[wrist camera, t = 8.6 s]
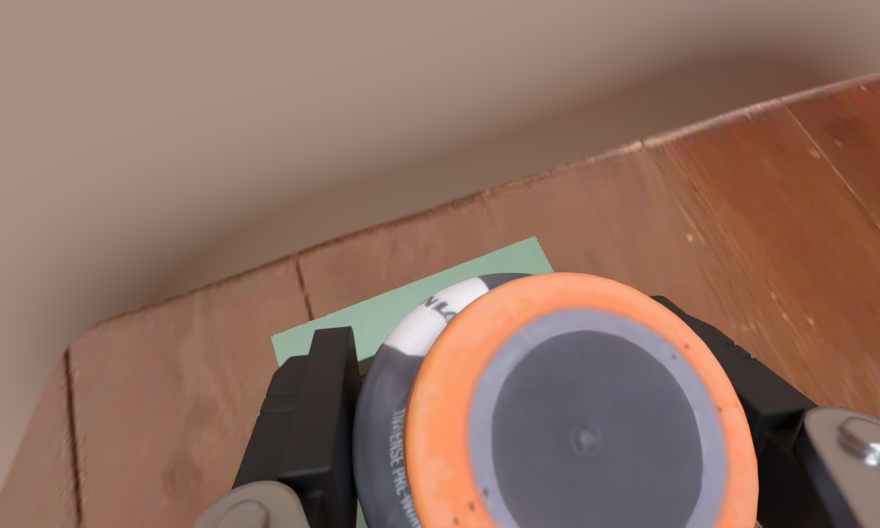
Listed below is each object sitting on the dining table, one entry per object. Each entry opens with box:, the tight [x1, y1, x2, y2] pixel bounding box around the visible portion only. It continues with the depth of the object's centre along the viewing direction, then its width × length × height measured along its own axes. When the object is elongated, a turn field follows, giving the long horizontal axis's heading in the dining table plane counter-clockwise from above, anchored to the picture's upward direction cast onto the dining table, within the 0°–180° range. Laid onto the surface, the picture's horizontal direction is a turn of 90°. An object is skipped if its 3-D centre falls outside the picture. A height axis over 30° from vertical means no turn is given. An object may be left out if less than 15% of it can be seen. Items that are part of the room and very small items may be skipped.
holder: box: [270, 236, 554, 528], centre depth 18 cm, size 12×12×4 cm
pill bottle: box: [352, 272, 759, 528], centre depth 10 cm, size 6×6×11 cm
